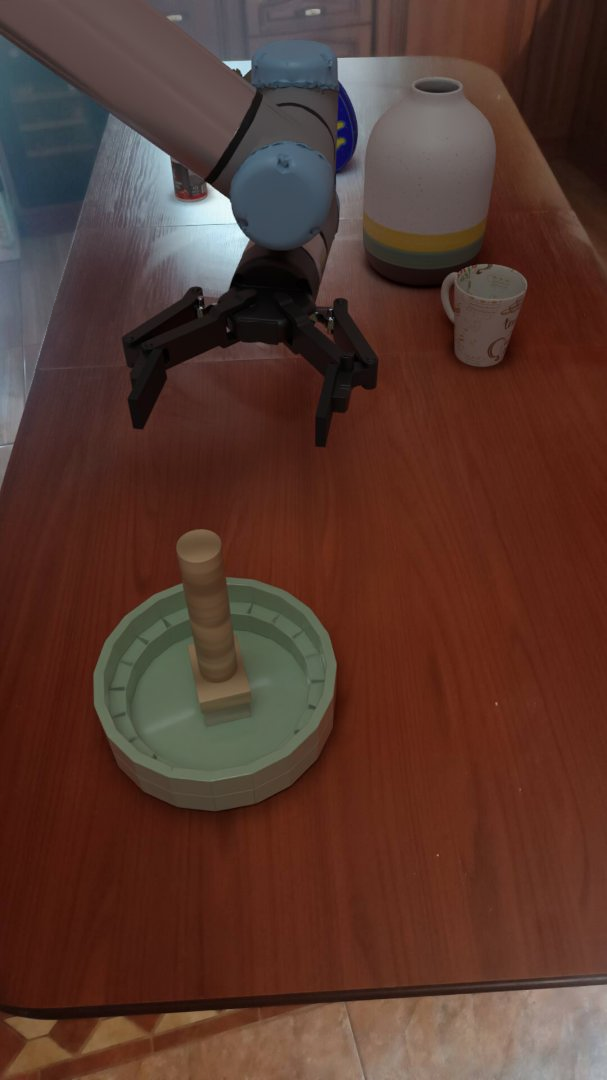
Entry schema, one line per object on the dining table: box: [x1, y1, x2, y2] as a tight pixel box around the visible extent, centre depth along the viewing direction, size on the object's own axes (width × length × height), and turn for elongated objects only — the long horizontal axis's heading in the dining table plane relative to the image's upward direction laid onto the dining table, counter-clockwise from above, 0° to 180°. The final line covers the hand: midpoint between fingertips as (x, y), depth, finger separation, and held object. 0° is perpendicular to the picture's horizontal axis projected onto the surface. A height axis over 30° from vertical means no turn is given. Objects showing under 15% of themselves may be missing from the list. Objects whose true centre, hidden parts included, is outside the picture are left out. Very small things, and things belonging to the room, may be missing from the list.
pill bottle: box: [169, 156, 208, 204], centre depth 130 cm, size 5×5×10 cm
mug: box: [440, 263, 528, 368], centre depth 98 cm, size 8×13×10 cm, turn 33°
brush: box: [175, 528, 252, 727], centre depth 59 cm, size 6×4×18 cm
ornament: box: [335, 80, 359, 172], centre depth 135 cm, size 11×9×15 cm
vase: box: [362, 76, 497, 287], centre depth 107 cm, size 17×17×24 cm
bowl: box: [92, 576, 338, 812], centre depth 64 cm, size 19×19×6 cm
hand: (226, 423), depth 57 cm, fingers open, 13 cm apart
